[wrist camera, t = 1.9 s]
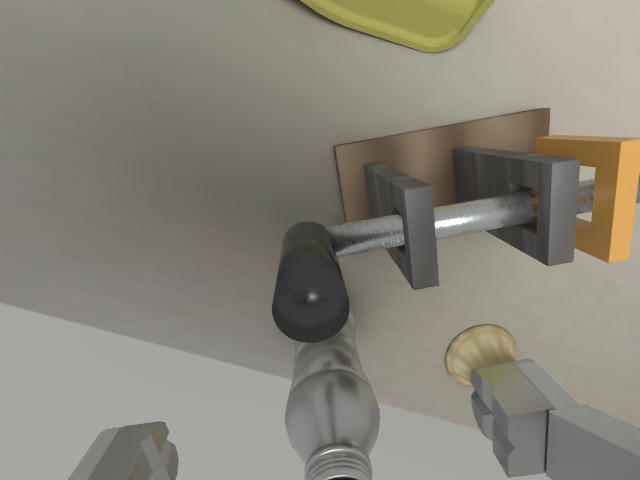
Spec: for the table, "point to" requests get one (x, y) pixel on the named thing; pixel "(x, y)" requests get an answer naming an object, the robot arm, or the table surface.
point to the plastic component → (407, 19)
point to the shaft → (368, 235)
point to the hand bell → (479, 351)
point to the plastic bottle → (332, 409)
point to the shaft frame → (461, 185)
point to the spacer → (603, 190)
